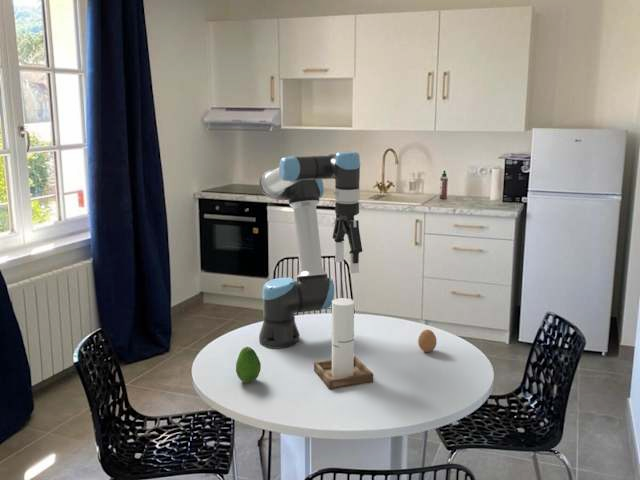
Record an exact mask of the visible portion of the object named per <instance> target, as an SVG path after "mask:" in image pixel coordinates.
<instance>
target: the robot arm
mask: <svg viewBox="0 0 640 480" xmlns="http://www.w3.org/2000/svg"><path fill="white" fill-rule="evenodd" d="M360 159H361V158H360V154H359V152H356V151H351V150H349V151H345V150H344V151H338V152H336V153H329V154H326V155H312V156H288V157H286V156H285V157H282V158H281V159H280V161H279V163H278V165H279V167H277V168H275V169H269V170H266V171H265V172H264V173H263V174H262V175H261V176H260V178H259V189H260V192H261V193H262V194H263V195H264V196H266V197H267V198H269V199H271V200H274V201H275V200H276V201H288V205H289V207H291V208H292V209H293V215H294V216H293V217H294V223H295V234H296V235H295V236H296V244H297V252H298V253H297V254H298V262H299V273H298V275H296V281H295V280H294V279H293V278H291V277H278V278H274V279H270V280H268V281H267V282H265V283H264V285H263V287H262V296H261V297H262V310H263V315H262V316H263V317H262V318H263V322H262V326H261V329H260V331H259V337H258V340H259V341H258V342H259V344H260V345H262V346H263V347H266V348H271V349H286V348H291V347H294V346H296V345H297V344H299V343H300V341H301V338H300V332H299V329H298V326H297V323H296V320H295V319H296V318H295V315H296V314H299V313H300V314H301V313H309V312H315V311H320V312H321V311H323V310H328V309H330V308H331V307H332V300H334V298H335V284H334V281H333V279H332V278H330V277H328V273H327V272H326V271H325V270H324V268H323V259H322V252H321V251H322V248H321V239H320V233H319V232H320V231H319V224H318V223H319V222H318V213H317V211H318V210H317V206H318V205H319V203H320V201H321V200H320V199H321V198H323V196H324V190H325V188H324V183H323V180H334V181H335V191H333V194H334V196H335V201H336V202H335V203H334V204H335V205H334V206H335V207H334V212H335V222H334V228H333V233H332V239H333V240H334V242H335V243H334V246H335V247H334V248H335V249H334V261H335V263H342V262H344V257H345V255H344V250H345V247H344V246H345V245H344V244H345V243H344V241H345V235H346V236H347V239H348V244H349V248H350V251H348V252H349V253H348V254H349V274H357V273H360V272H359V271H360V253H363V247H362V239H361V234H360V225H359V220H358V219H356V220H355V216H357V215H359V214H360V203H359V202H360V190H361V188H360V171H361V161H360Z"/></svg>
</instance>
